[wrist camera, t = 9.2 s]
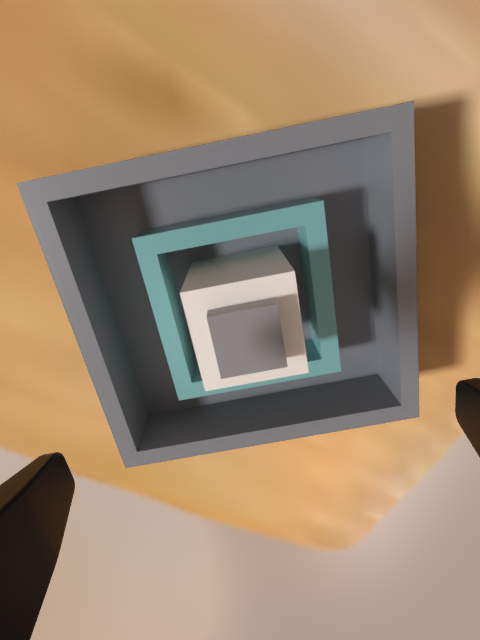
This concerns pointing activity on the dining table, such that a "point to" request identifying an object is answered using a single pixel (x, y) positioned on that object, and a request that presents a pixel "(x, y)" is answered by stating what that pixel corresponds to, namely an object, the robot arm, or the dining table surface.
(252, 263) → the cube with square boss
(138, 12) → the dining table surface
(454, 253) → the dining table surface
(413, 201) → the box
